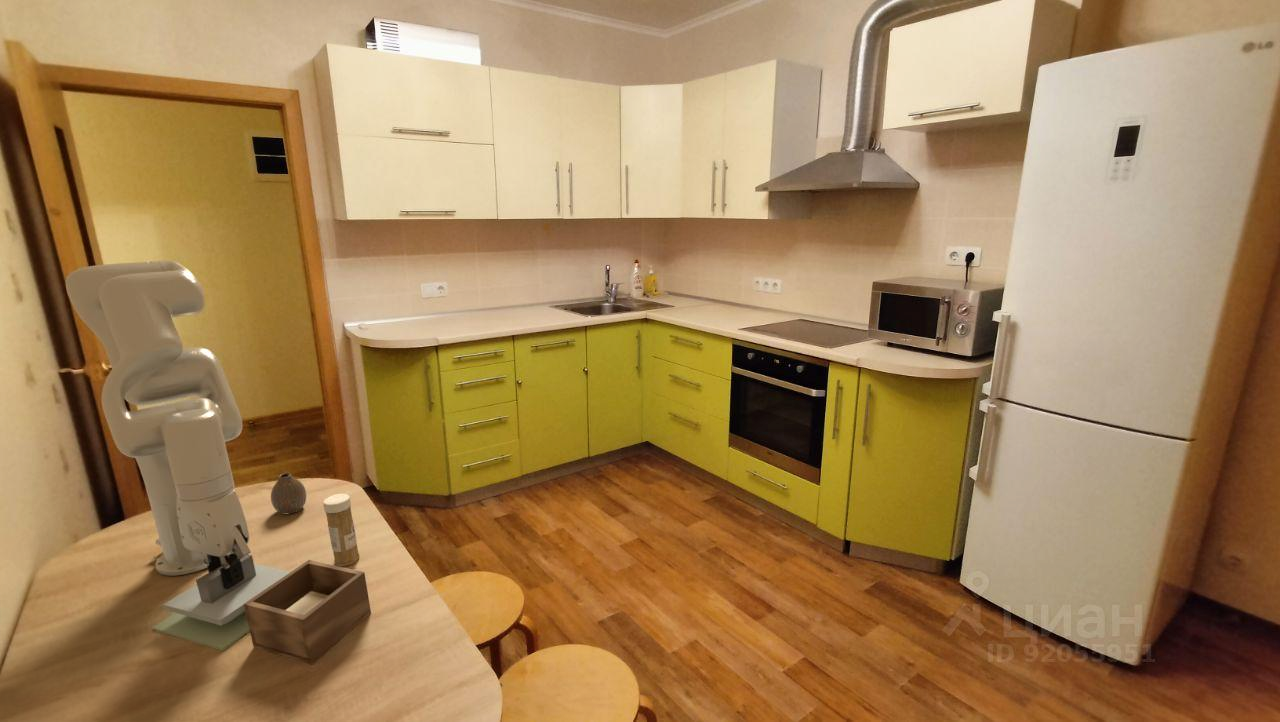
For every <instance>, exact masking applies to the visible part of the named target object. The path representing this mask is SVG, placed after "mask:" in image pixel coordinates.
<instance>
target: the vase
mask: <svg viewBox="0 0 1280 722" xmlns="http://www.w3.org/2000/svg"><path fill="white" fill-rule="evenodd" d="M270 501H271V505H272V507H273V508H274V510H275V511H276V512H278V513H279V514H282V513H292V514H294V513H293V512H295V513H297V512H296V511H298V510H299V511H301V509H302V508H303V507H304V506H305V504H306V501H307V491H306V488H305V486H304V484H303V483H302V482H301V481H300V480H299V479H297V478H295V477H294V476H293V475H292V473H290V472H289V473H288V472H287V473H286V472H285V473H282V474H280V475H278V478H277V481H276V482H275V484H274V486H272V489H271V492H270ZM299 511H298V512H299Z"/></svg>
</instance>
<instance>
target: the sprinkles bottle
mask: <svg viewBox="0 0 1280 722" xmlns="http://www.w3.org/2000/svg"><path fill="white" fill-rule="evenodd" d="M322 503H323V509H324V512H325V516H326V521H327V527H328V534H329V539H330V540H329V541H330V545H331V550H332V552H333V558H334V559H333V560H334V561H333V562H334V564H335V566H339V567H347V566H350V565H353V564H355V563H356V562H357V561H358V560H359V559H360V556H361V555H360V553H359V549H358V548H359V547H358V542H357V536H356V530H355V524H354V523H355V522H354V520H353V515H352V510H351V509H352V507H351V505H352V502H351V497H350V495H349V494H347V493H337V494H333V495H330V496H327V498H325V499H324V500H323V502H322Z"/></svg>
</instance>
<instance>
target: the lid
mask: <svg viewBox="0 0 1280 722" xmlns="http://www.w3.org/2000/svg"><path fill="white" fill-rule="evenodd" d="M240 561H241V565H242V569H243V574H244V580H242V581H241V582H239V583H238V584H236V585H235V586H233V587H231V588H230V589H225V588H224V585H223V581H222V577H221V573H220V569H221V568H222V566H220V567H219V568H217V569H215V570H213V571H211V572H207V573H205V574H204V575H202V576H201V577H199V578H197V579H196V580H195V582H196V584H195V585H193V586H192V587H190V588H188V589H186V590H185V591H183V592H182V593H180V594H178V595H177V596H175V597H173V598H172V599H170V600H169V601H166V602H165V603H163V604H162V605H163V609H164V611H168V612H172V613H174V614H175V613H178V614H182V615H185V616H189V617H192V618H196V619H199V620H203V621H207V622H210V623H214V624H217V625H221V626H222V625H223V624H227V623H229V622H230V621H232V620H233V619H234V618H236V617H237V616H239V615H240V614H242V613H243V612H245V608H244V603H246V602H247V601H249V600H250V599H252V598H253V597H255V596H256V595H258V594H259V593H261V592H262V591H263V590H265V589H266V588H268V587H269V586H271V585H272V584H274V583H275V582H277V581H278V580H280V579H281V578H283V577H284V576H286V575H287V574H289V573H290V572H291V571H287V570H283V569H279V568H275V567H270V566H266V565H262V564H258V563H255V562H254V558H253V554H248V555H246V556H245V557H243V558H242V560H240Z"/></svg>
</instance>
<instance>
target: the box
mask: <svg viewBox="0 0 1280 722" xmlns="http://www.w3.org/2000/svg"><path fill="white" fill-rule="evenodd" d="M289 572H290V573H289V574H287V575H286V576H284V577H283V578H281V579H280V580H278V581H277V582H275V583H274V584H272V585H271V586H269V587H268V588H266V589H265V590H263V591H262V592H261V593H259V594H258V595H256V596H255V597H253V598H252V599H250V600H249V601H247V602H246V603H244V608H245V612H246V616H247V621H248V625H249V629H250V631H249V633H250V639H251V642H252V647H253V649H254V648H255V649H258V650H262V651H265V652H268V653H271V654H275V655H279V656H281V657H285V658H288V659H292V660H295V661H298V662H302V663H305V664H309V665H314V664H315V663H316V662H317V661H318V660H319V659H321V658H322V657H323V656H324V655H325V654H326V653H327V652H329V651H330V650H331V649H332V648H333V647H335V645H336V644H338V643H339V642H340V641H341V640H342V639H343V638H345V637H346V636H347V635H348V634H349V633H350V632H351V631H353V629H355V628H356V627H357V626H358V625H359V624H360V623H362V622H363V621H364V620H365V619H366V618H368V616H369V615H371V614H372V611H371V606H370V605H371V604H370V603H371V602H370V598H369V592H368V586H367V580H366V574H365V573H366V572H364V571H362V570H361V571H360V570H356V569H351V568H348V567H344V566H337V565H334V564H329V563H325V562H322V561H320V562H319V561H316V560H313V559H312V560H311V559H308V560H306V561H305V562H304V563H302V564H301V565H299V566H298V567H296V568H295V569H294V570H291V571H289Z"/></svg>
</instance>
